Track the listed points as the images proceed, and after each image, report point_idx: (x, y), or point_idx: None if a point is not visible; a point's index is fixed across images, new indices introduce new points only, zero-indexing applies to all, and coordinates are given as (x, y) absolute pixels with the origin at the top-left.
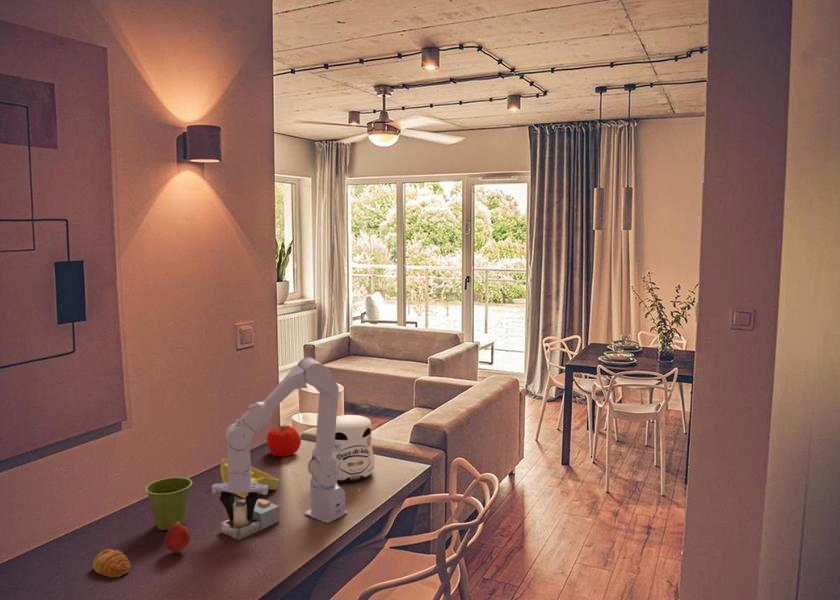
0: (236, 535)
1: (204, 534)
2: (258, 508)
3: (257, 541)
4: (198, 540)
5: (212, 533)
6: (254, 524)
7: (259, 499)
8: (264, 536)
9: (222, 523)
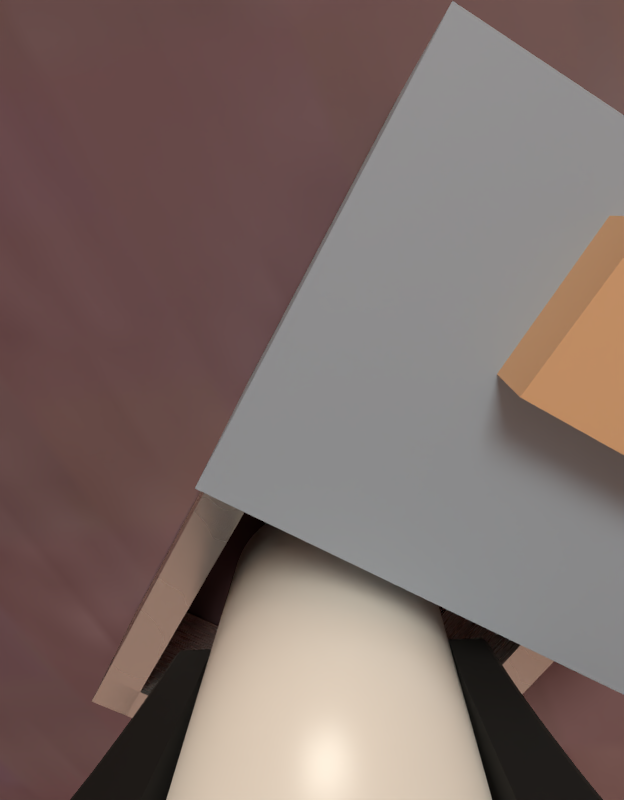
0: None
1: (14, 663)
2: (569, 546)
3: (569, 721)
4: (38, 746)
5: (73, 642)
6: (527, 678)
7: (450, 72)
8: None
9: (125, 708)
